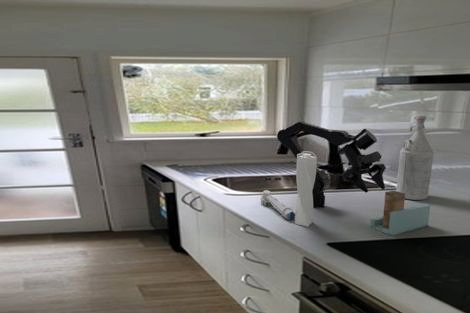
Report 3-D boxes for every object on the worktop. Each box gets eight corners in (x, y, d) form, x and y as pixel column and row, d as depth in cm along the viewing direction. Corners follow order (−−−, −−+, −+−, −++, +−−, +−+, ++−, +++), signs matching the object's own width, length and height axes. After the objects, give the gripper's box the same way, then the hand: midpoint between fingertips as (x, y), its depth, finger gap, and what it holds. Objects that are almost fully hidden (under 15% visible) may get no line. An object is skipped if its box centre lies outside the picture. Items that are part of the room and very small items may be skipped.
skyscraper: (309, 228, 118) (313, 152, 114) (290, 224, 122) (293, 150, 118) (316, 221, 125) (320, 149, 120) (298, 218, 129) (301, 147, 124)
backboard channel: (370, 226, 120) (372, 206, 119) (405, 218, 129) (407, 198, 128) (392, 235, 112) (394, 213, 111) (428, 225, 121) (430, 205, 120)
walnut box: (382, 226, 119) (385, 192, 117) (390, 224, 121) (393, 190, 119) (393, 231, 115) (396, 195, 113) (401, 228, 117) (405, 193, 115)
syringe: (285, 212, 125) (259, 187, 147) (284, 228, 127) (258, 201, 149) (297, 210, 126) (269, 186, 149) (296, 226, 128) (268, 200, 151)
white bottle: (388, 195, 160) (395, 114, 154) (410, 191, 168) (417, 113, 162) (412, 202, 149) (421, 115, 143) (435, 197, 158) (444, 114, 151)
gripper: (349, 146, 120) (372, 181, 113) (384, 143, 129) (407, 176, 121) (333, 163, 129) (353, 197, 121) (366, 159, 137) (386, 191, 129)
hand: (375, 190), depth 123 cm, fingers open, 9 cm apart
